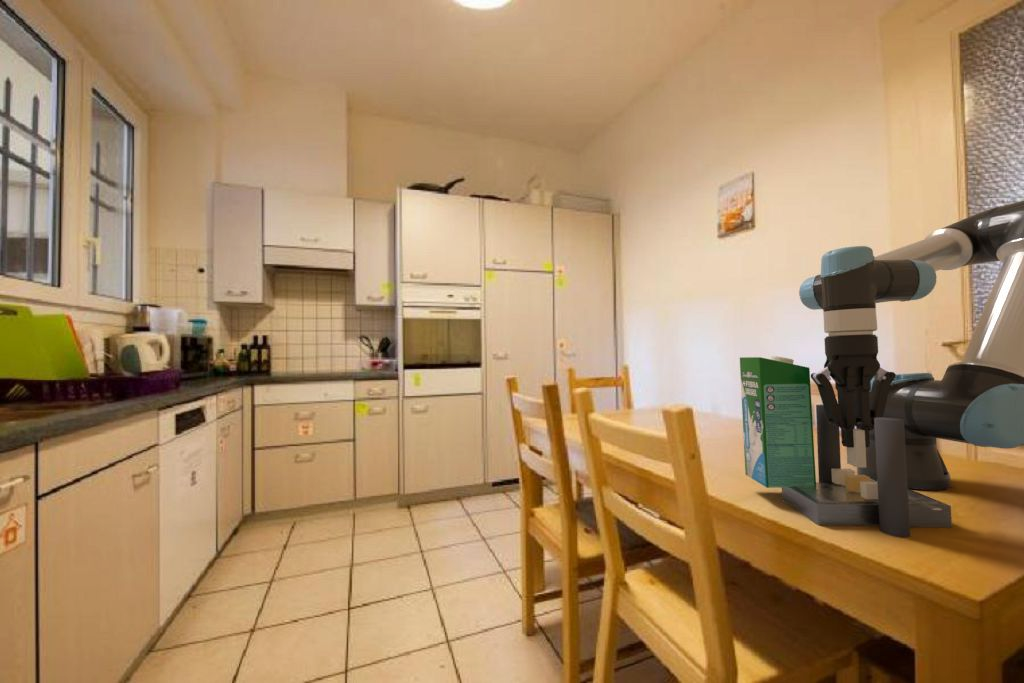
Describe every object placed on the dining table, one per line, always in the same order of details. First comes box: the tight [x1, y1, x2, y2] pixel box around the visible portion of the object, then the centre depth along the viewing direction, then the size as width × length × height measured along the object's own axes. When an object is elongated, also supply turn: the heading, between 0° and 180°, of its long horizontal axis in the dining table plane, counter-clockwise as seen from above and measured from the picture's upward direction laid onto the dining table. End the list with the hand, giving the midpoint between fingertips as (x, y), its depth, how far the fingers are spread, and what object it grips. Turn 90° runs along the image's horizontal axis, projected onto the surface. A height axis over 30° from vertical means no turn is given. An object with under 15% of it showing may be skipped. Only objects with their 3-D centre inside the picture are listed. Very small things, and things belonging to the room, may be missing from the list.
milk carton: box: [739, 355, 817, 489], centre depth 85 cm, size 9×9×25 cm
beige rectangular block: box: [860, 482, 878, 499], centre depth 72 cm, size 3×1×2 cm, turn 83°
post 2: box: [874, 417, 911, 538], centre depth 68 cm, size 4×4×18 cm
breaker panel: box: [781, 479, 953, 529], centre depth 76 cm, size 20×16×4 cm
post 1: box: [815, 403, 842, 482], centre depth 84 cm, size 4×4×18 cm
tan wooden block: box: [845, 474, 870, 491], centre depth 76 cm, size 3×1×2 cm, turn 83°
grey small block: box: [831, 468, 856, 484], centre depth 80 cm, size 3×1×2 cm, turn 83°
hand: (856, 465), depth 76 cm, fingers closed
